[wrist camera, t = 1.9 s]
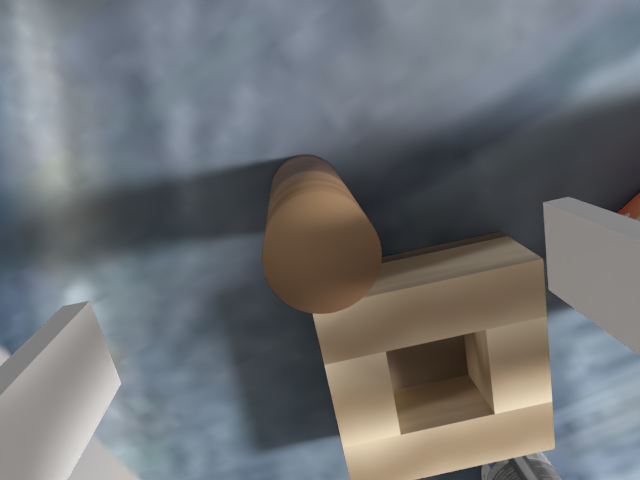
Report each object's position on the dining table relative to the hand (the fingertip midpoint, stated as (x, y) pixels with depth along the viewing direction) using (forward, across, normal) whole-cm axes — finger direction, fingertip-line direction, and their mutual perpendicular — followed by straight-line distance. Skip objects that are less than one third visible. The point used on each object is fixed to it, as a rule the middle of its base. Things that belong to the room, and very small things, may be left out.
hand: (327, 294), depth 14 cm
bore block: (+14, +5, -11) cm, 19 cm away
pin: (+14, 0, 0) cm, 14 cm away
